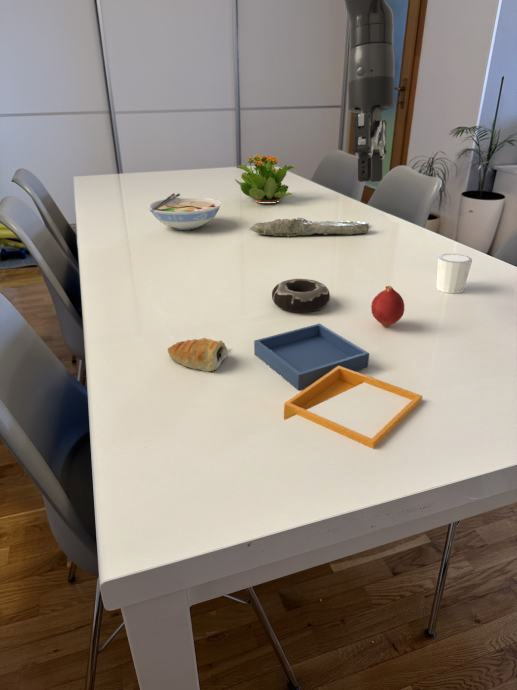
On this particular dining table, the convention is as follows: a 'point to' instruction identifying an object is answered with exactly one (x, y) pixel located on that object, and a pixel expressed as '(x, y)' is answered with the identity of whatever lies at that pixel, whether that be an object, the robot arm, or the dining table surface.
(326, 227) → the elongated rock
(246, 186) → the potted flower
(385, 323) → the onion
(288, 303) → the donut
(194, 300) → the dining table surface
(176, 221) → the ramen bowl
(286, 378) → the blue tray
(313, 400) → the amber tray
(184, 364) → the pastry
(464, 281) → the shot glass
